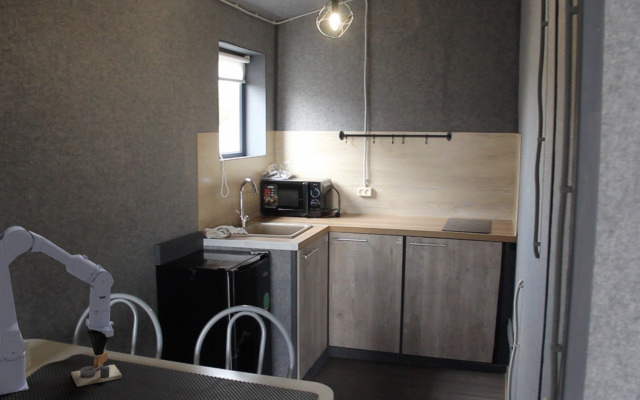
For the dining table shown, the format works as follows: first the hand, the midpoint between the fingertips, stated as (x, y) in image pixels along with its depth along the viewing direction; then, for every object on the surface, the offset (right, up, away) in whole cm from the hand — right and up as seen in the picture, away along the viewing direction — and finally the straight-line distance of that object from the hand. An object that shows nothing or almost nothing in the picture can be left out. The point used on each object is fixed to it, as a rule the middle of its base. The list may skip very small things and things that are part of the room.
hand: (98, 354), depth 159 cm
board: (+1, -5, -4) cm, 7 cm away
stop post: (+4, -6, -6) cm, 9 cm away
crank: (0, -4, -2) cm, 4 cm away
